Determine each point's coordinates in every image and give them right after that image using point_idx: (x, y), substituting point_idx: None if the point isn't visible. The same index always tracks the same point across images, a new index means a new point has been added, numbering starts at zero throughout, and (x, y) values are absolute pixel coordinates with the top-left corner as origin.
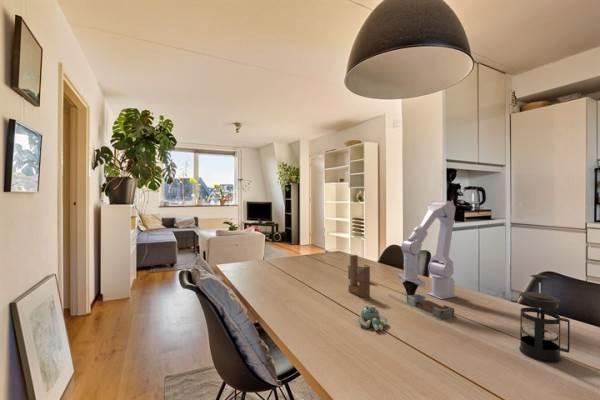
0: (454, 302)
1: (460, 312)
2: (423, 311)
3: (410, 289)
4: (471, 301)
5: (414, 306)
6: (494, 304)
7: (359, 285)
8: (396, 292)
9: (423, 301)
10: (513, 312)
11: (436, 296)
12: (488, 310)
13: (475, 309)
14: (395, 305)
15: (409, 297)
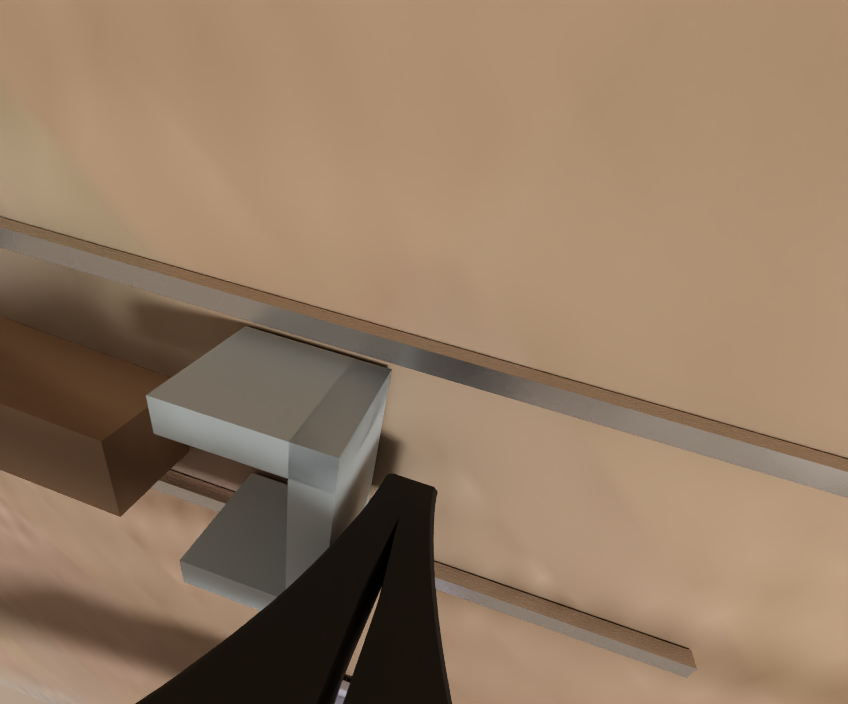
0: (209, 645)
1: (17, 498)
2: (3, 225)
3: (224, 641)
4: None
5: (189, 295)
6: (122, 697)
7: None
8: (806, 655)
9: (91, 435)
10: (12, 643)
11: (341, 690)
12: (44, 616)
13: (65, 597)
14: (434, 68)
15: (268, 421)
